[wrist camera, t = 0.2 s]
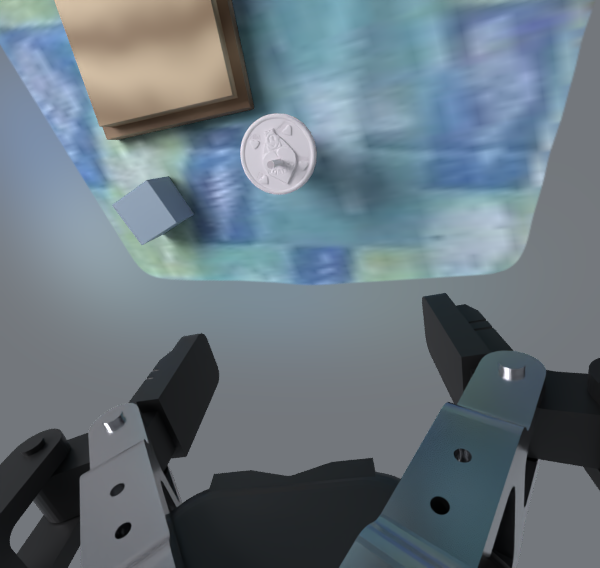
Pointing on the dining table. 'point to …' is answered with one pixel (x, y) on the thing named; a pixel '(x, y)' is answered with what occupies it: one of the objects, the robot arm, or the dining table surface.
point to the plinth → (157, 61)
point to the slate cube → (153, 209)
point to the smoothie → (278, 153)
